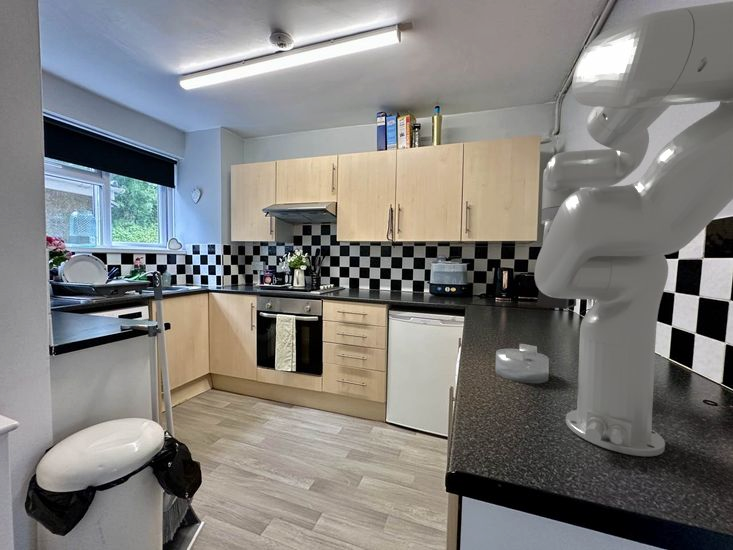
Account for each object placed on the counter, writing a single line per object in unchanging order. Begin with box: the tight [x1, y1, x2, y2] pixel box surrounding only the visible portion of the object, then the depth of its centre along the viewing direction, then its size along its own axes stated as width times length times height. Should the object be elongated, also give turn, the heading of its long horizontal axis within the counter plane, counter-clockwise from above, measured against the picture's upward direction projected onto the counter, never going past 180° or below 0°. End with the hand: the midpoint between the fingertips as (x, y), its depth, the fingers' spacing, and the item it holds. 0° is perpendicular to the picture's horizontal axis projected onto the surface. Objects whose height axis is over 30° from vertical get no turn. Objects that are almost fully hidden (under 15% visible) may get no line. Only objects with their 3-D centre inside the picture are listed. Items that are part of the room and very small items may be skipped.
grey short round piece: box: [495, 343, 550, 384], centre depth 78 cm, size 12×12×7 cm
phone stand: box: [536, 289, 577, 310], centre depth 73 cm, size 9×6×12 cm, turn 133°
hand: (556, 293), depth 73 cm, fingers closed on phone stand, 1 cm apart
